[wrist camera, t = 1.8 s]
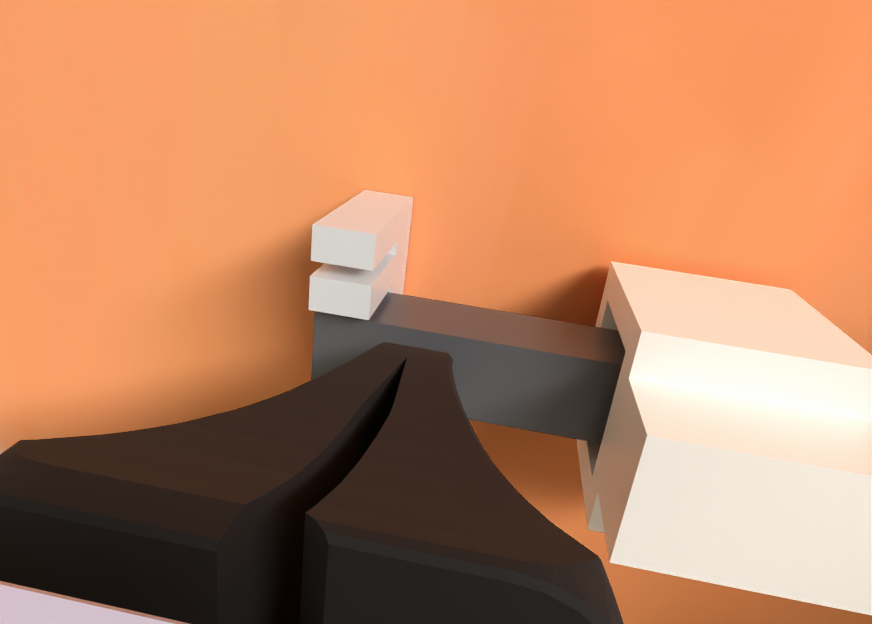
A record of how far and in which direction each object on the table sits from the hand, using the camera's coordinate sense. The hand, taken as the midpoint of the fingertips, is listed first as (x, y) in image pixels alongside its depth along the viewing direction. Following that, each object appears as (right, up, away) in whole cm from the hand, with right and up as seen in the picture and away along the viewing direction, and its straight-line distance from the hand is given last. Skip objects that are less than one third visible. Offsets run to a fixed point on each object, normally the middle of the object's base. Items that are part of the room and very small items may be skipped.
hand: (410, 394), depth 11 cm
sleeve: (+6, 0, +3) cm, 7 cm away
